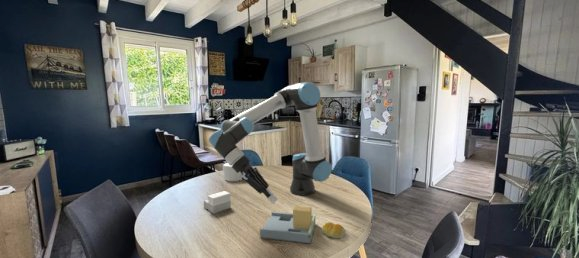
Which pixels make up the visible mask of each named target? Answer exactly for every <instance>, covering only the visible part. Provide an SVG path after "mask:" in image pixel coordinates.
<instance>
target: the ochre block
mask: <svg viewBox="0 0 579 258" xmlns="http://www.w3.org/2000/svg"><path fill="white" fill-rule="evenodd" d="M312 212H313V211H312V207H311V206H303V205H294V207H293V209H292V214H293V228H302V229H309V228H310V225H311V221H312V216H313V215H312Z"/></svg>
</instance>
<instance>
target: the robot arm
mask: <svg viewBox="0 0 579 258" xmlns="http://www.w3.org/2000/svg"><path fill="white" fill-rule="evenodd" d="M320 100H321V91H320V89H319V87H318V85H316V83H313V82H311V81H310V82H308V81H304V82H297V83H292V84H289V85H286V86H285V87H283V88H282V89H280V90H278V91H277V92H275V93H273V96H271V97H270V98H267V99H266V100H264V101H262V102H260V103H258V104H257V105H254V106H253V107H251V108H249V109H247V110H245V111H243V112H241V113H239V114H238V115H236V116H234V117H232V118H230V119H225V120H223V121H222V122H221V124H220V129H218V130H216V131H214V132H213V133H212V134H211V135H210V137H209V138H208V142H209V144H210V145H211V146H212V147H213V149H214V150H215V151H216V152H217V154H219V155H220V156H221V157H222V158H223V159H224V160H225V163H228V164H229V165H230V166H232V168H233V169H234V170H235V171H236V172H237V173H239V172H241V174H242V175H243V177H242V180H241V181H244V182H246V183H247V185H249V186H251V188H253V189H254V190H255V191H256V192H257V193H258V194H260V195H262V194H263V195H264V196H265V197H266V198H267V199H268V200H269V201H270V202H271V204H273V205H274V204H275V203H276V202H278V200H279V198H278V197H277V195H275V194H274V192H272V190H271V189H270V188H269V187H270V184H268V182H267V181H266V179H265V178H264V176H262V175H261V173H260V172H259V169H258V168H257V167H253V166H252V165H251V164H250V163H251V160H250V159H249V158H248V156H247V155H244V154H245V153H244V152H243V151H242V150H241V149H240V148H239V147H238V146H237V144H239V143H240V142H241V141H242V140H243V139H245V138H246V137H248V135H250V134H251V133H252V132H253V131H254V130H255V126H254V124H256V123H258V122H259V121H260V120H262V119H264V118H265V117H267V116H270V115H271V114H273V113H274V112H276V111H279V110H281V109H285V108H288V107H290V106H295V110H296V112H298V114H299V119H300V124H301V128H302V129H301V130H302V135H303V141H304V147H305V152H301V153H296V154H294V155H293V156H292V180H291V184H290V187H289V192H290V193H291V194H294V195H297V196H308V195H309V196H310V195H313V194H314V193H315V192H316V186H315V184H314V181H316V182H321V183H323V182H325V181H326V180H327V179H329V177H330V176H331V174H332V170H333V169H332V168H333V167H332V164H331V163H330V162H329V161H328V160H327V157H326V154H325V153H324V152H323V150H322V142H321V137H320V131H319V124H318V118H317V112H316V110H317V108H318V107H319V106H318V103H319V102H320Z"/></svg>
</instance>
